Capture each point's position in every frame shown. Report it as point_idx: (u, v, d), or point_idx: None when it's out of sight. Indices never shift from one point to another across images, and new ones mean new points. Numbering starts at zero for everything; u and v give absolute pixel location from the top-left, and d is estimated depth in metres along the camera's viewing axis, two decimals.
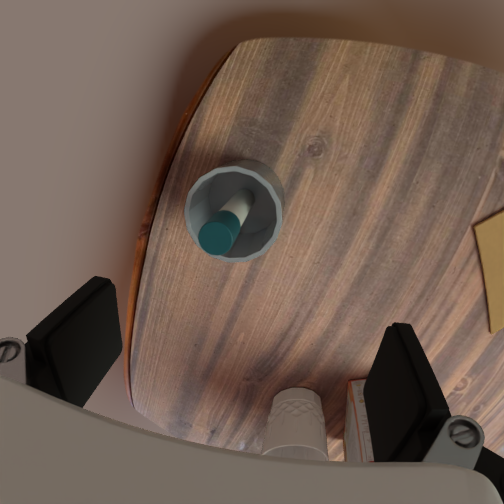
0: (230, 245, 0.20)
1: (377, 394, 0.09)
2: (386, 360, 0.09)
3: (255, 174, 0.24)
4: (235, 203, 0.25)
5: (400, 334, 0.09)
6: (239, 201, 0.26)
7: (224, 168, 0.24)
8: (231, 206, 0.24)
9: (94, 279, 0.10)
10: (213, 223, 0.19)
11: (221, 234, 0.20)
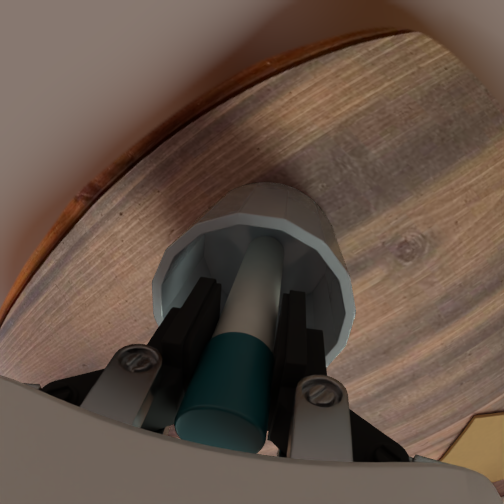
0: None
1: None
2: (278, 324, 0.10)
3: (346, 280, 0.11)
4: (271, 300, 0.12)
5: (289, 299, 0.10)
6: (275, 290, 0.13)
7: (300, 231, 0.10)
8: (266, 314, 0.11)
9: (202, 279, 0.11)
10: (238, 418, 0.06)
11: (239, 439, 0.07)
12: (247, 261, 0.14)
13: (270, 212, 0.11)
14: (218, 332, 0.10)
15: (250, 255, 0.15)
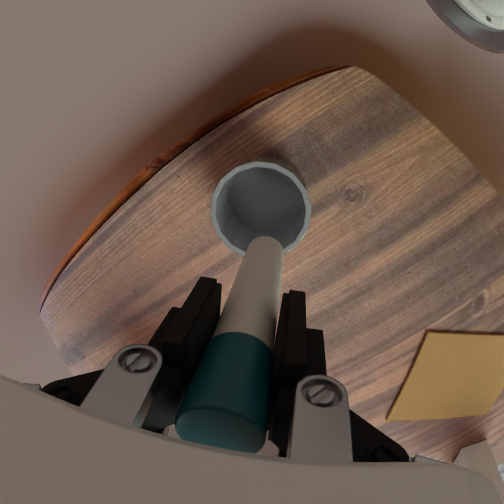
0: None
1: None
2: (278, 324, 0.10)
3: (304, 191, 0.24)
4: (271, 300, 0.12)
5: (289, 299, 0.10)
6: (275, 290, 0.13)
7: (282, 168, 0.23)
8: (266, 314, 0.11)
9: (203, 279, 0.11)
10: (238, 418, 0.06)
11: (240, 438, 0.07)
12: (247, 261, 0.14)
13: (269, 162, 0.24)
14: (218, 332, 0.10)
15: (250, 255, 0.15)
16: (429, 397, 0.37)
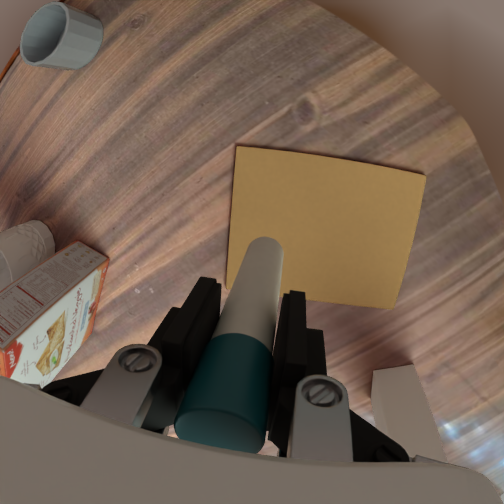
0: None
1: (273, 358, 0.10)
2: None
3: (66, 9, 0.21)
4: (270, 301, 0.12)
5: (289, 299, 0.10)
6: (275, 291, 0.13)
7: (56, 2, 0.21)
8: (266, 316, 0.11)
9: (202, 279, 0.11)
10: (237, 419, 0.06)
11: (239, 440, 0.07)
12: (247, 262, 0.14)
13: None
14: (217, 333, 0.10)
15: (250, 256, 0.15)
16: None
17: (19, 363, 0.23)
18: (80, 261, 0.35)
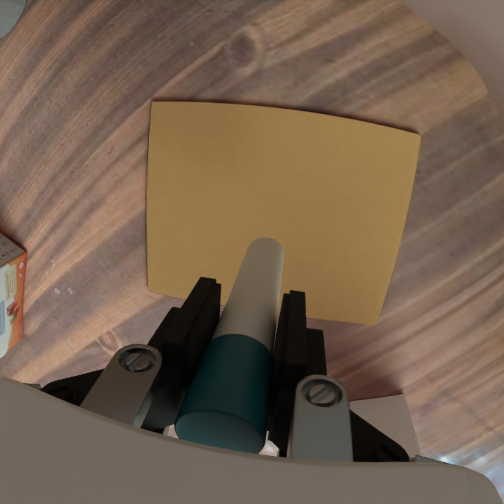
0: None
1: None
2: None
3: None
4: (271, 301, 0.12)
5: (289, 299, 0.10)
6: (275, 292, 0.13)
7: None
8: (266, 316, 0.11)
9: (202, 279, 0.11)
10: (238, 420, 0.06)
11: (239, 440, 0.07)
12: (247, 262, 0.14)
13: None
14: (218, 334, 0.10)
15: (250, 256, 0.15)
16: (206, 246, 0.25)
17: None
18: None
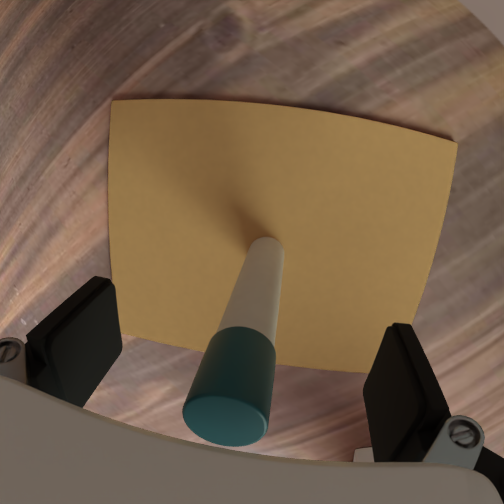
0: (246, 444, 0.08)
1: (377, 394, 0.09)
2: (386, 360, 0.09)
3: None
4: (272, 297, 0.12)
5: (400, 334, 0.09)
6: (276, 288, 0.13)
7: None
8: (268, 311, 0.11)
9: (94, 279, 0.10)
10: (242, 405, 0.07)
11: (243, 425, 0.07)
12: (249, 261, 0.15)
13: None
14: (223, 327, 0.10)
15: (252, 255, 0.16)
16: (182, 284, 0.20)
17: None
18: None
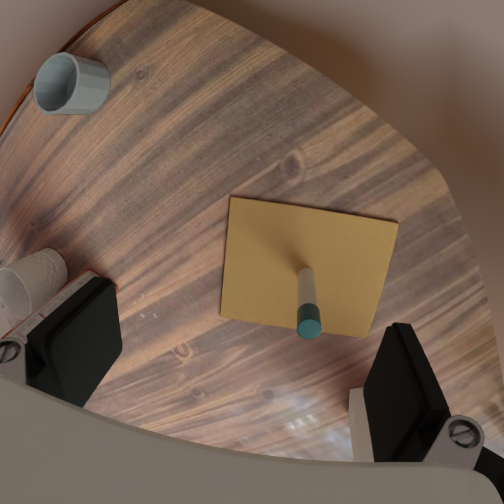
0: (314, 337, 0.28)
1: (377, 394, 0.09)
2: (386, 360, 0.09)
3: (76, 63, 0.27)
4: (315, 294, 0.33)
5: (400, 334, 0.09)
6: (315, 291, 0.34)
7: (66, 53, 0.27)
8: (315, 298, 0.32)
9: (94, 279, 0.10)
10: (315, 321, 0.28)
11: (314, 329, 0.28)
12: (302, 279, 0.36)
13: None
14: (302, 303, 0.31)
15: (303, 277, 0.36)
16: (263, 290, 0.41)
17: None
18: None
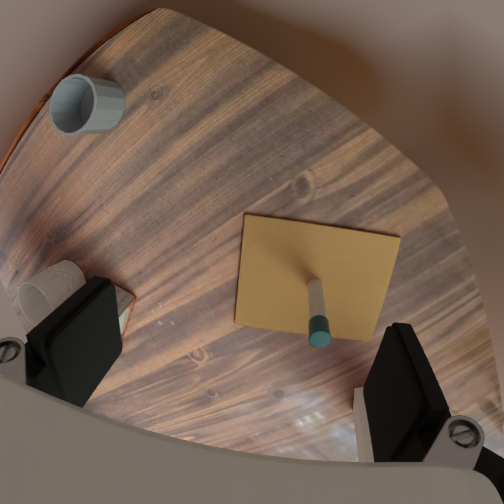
0: (324, 346, 0.31)
1: (377, 394, 0.09)
2: (386, 360, 0.09)
3: (93, 86, 0.30)
4: (324, 305, 0.36)
5: (400, 334, 0.09)
6: (324, 302, 0.37)
7: (82, 75, 0.29)
8: (324, 310, 0.35)
9: (94, 279, 0.10)
10: (325, 333, 0.31)
11: (325, 339, 0.31)
12: (312, 291, 0.39)
13: None
14: (313, 315, 0.34)
15: (312, 288, 0.39)
16: (275, 299, 0.43)
17: None
18: None
